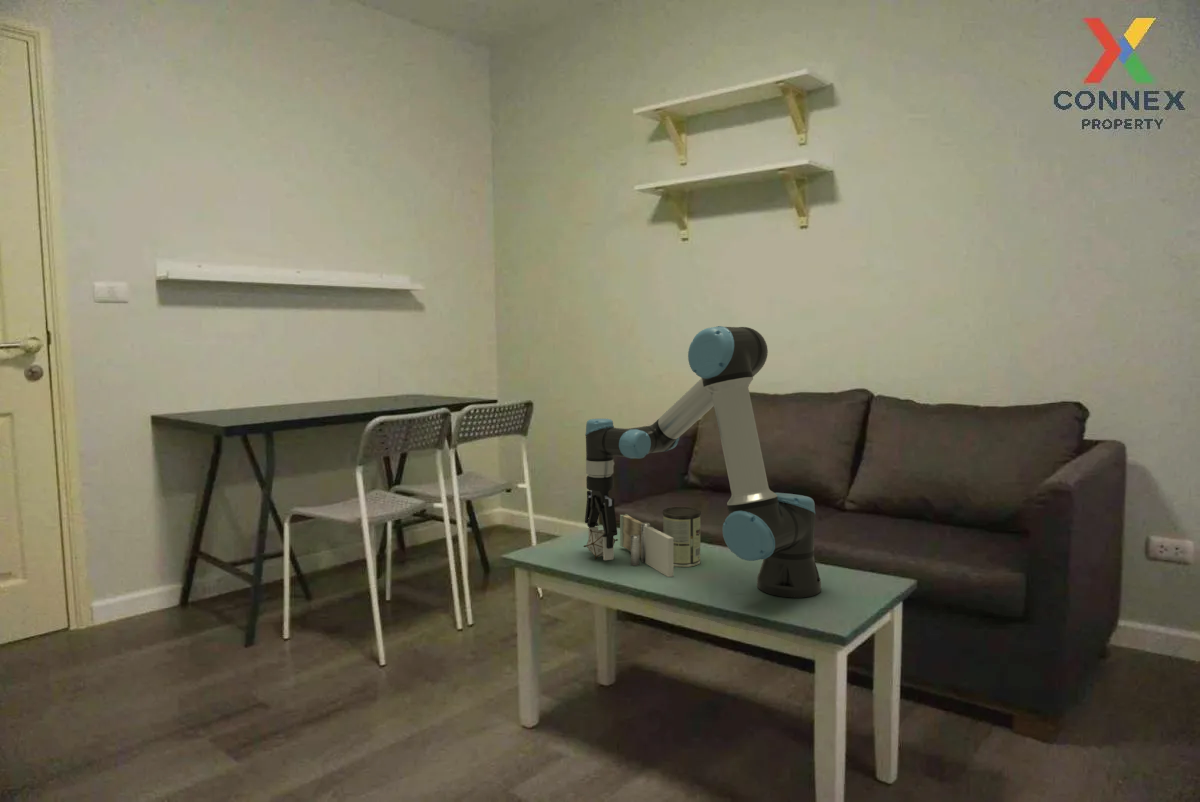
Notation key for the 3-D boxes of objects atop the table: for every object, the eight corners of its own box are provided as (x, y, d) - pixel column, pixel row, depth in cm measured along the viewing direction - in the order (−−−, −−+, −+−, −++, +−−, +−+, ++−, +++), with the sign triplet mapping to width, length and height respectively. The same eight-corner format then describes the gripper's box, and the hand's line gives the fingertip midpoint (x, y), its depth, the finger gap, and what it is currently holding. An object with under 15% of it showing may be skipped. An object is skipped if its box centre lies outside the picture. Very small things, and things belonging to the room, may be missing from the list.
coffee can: (662, 555, 216) (663, 506, 215) (700, 556, 215) (700, 507, 214) (662, 566, 206) (662, 514, 205) (701, 567, 205) (701, 515, 204)
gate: (646, 556, 212) (646, 523, 212) (639, 556, 211) (639, 524, 211) (626, 544, 224) (626, 514, 223) (620, 545, 223) (620, 514, 222)
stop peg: (641, 565, 207) (641, 536, 206) (633, 566, 206) (633, 537, 206) (637, 562, 209) (637, 534, 209) (629, 564, 208) (629, 534, 208)
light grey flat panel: (673, 576, 198) (673, 538, 197) (668, 577, 197) (668, 538, 196) (650, 562, 209) (650, 526, 209) (645, 563, 209) (645, 527, 208)
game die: (606, 571, 213) (617, 548, 207) (577, 560, 213) (587, 537, 207) (612, 548, 220) (623, 525, 214) (584, 538, 220) (594, 514, 214)
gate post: (651, 562, 210) (651, 524, 209) (643, 563, 209) (643, 525, 208) (647, 559, 212) (647, 522, 211) (639, 560, 211) (639, 523, 210)
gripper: (629, 480, 203) (630, 563, 205) (596, 467, 224) (597, 543, 225) (603, 482, 200) (604, 567, 202) (572, 469, 221) (573, 546, 222)
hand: (600, 554), depth 214 cm, fingers closed on game die, 10 cm apart
